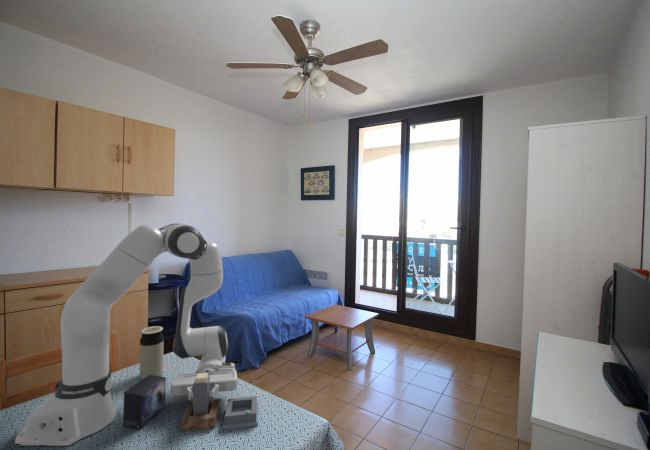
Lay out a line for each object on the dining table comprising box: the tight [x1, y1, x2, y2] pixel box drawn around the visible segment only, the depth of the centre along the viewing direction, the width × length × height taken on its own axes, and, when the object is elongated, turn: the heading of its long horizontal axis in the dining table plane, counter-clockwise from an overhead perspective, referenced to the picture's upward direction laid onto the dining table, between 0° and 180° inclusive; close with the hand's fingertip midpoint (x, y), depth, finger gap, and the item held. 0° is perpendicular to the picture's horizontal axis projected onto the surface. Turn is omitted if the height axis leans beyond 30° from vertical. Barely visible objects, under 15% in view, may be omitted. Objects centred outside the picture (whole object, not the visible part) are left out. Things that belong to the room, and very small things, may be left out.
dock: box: [222, 395, 259, 430], centre depth 95 cm, size 10×10×4 cm
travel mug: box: [139, 325, 165, 380], centre depth 119 cm, size 8×8×18 cm
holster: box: [180, 398, 221, 432], centre depth 94 cm, size 9×9×3 cm
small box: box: [122, 375, 167, 430], centre depth 94 cm, size 11×6×10 cm, turn 168°
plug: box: [192, 373, 211, 416], centre depth 94 cm, size 4×4×14 cm
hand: (200, 396), depth 93 cm, fingers open, 4 cm apart
